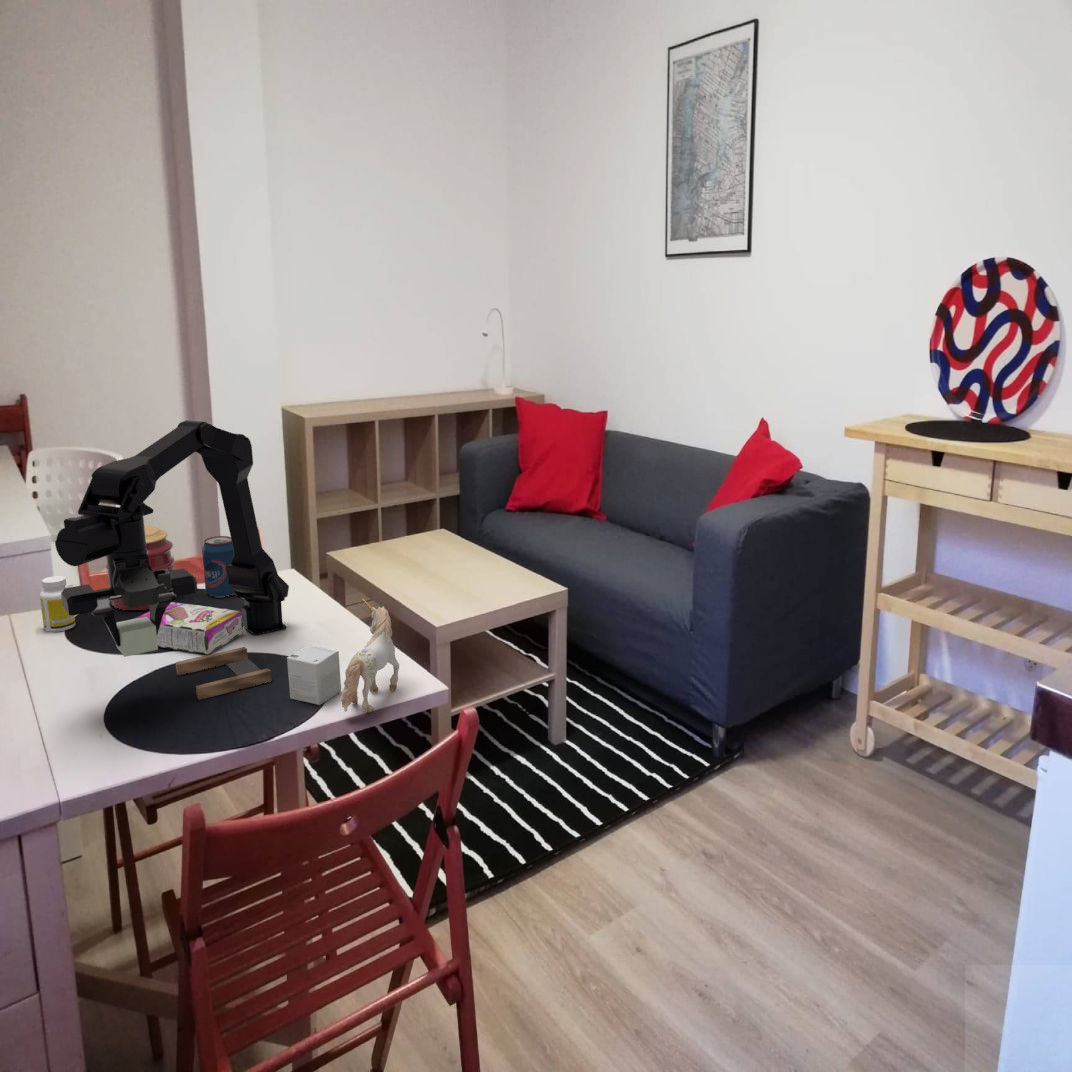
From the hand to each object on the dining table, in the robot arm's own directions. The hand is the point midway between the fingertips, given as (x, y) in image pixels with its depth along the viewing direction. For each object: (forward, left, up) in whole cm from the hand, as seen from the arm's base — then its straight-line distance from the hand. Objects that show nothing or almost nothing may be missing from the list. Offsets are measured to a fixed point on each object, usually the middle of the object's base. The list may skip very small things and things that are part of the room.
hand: (136, 641), depth 141 cm
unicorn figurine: (-29, +19, -10) cm, 36 cm away
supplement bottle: (+5, -40, -10) cm, 42 cm away
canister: (-12, -46, -10) cm, 49 cm away
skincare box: (-23, +15, -10) cm, 29 cm away
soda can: (-27, -42, -10) cm, 51 cm away
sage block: (0, 0, -1) cm, 1 cm away
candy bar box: (-9, -27, -7) cm, 29 cm away
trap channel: (-13, 0, -10) cm, 16 cm away
